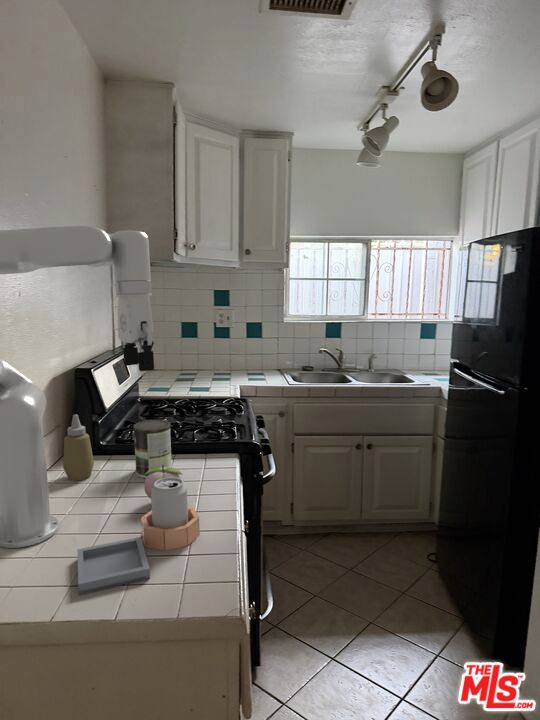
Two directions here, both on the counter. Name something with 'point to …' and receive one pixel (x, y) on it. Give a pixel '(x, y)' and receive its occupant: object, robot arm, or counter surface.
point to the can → (169, 503)
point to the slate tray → (111, 565)
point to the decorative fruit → (159, 477)
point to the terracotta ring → (170, 532)
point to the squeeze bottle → (77, 452)
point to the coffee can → (152, 445)
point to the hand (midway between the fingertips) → (138, 367)
